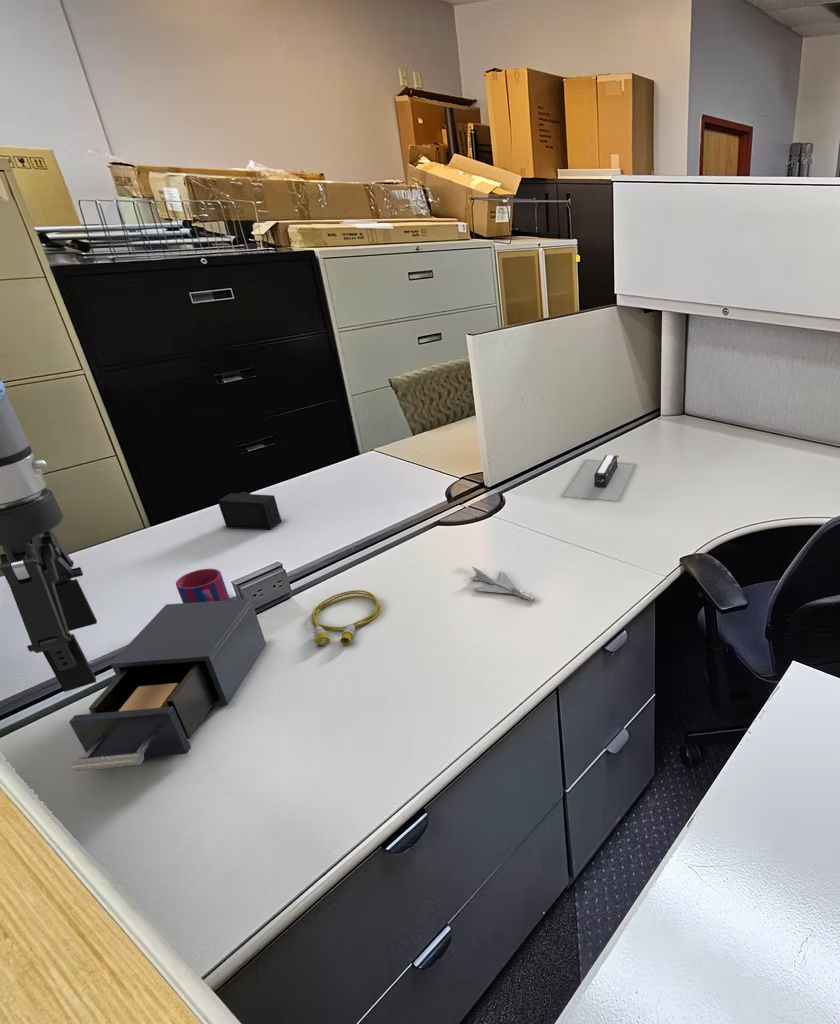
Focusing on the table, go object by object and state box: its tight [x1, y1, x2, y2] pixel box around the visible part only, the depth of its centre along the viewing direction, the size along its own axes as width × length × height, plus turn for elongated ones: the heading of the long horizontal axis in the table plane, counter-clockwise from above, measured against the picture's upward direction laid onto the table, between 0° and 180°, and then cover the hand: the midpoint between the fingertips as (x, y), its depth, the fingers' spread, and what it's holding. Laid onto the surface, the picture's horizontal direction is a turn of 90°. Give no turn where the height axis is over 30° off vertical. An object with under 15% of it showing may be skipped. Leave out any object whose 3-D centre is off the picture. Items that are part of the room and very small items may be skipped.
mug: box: [175, 568, 231, 603], centre depth 113 cm, size 7×10×7 cm
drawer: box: [68, 661, 219, 772], centre depth 86 cm, size 18×11×8 cm, turn 11°
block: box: [119, 683, 179, 711], centre depth 87 cm, size 5×5×5 cm
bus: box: [564, 454, 635, 502], centre depth 174 cm, size 14×25×4 cm, turn 174°
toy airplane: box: [465, 566, 536, 602], centre depth 126 cm, size 8×21×2 cm, turn 60°
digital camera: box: [217, 491, 282, 531], centre depth 143 cm, size 10×5×7 cm, turn 89°
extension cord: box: [310, 589, 381, 646], centre depth 114 cm, size 12×16×2 cm
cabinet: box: [110, 598, 267, 707], centre depth 98 cm, size 15×13×10 cm
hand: (82, 654), depth 75 cm, fingers open, 13 cm apart
